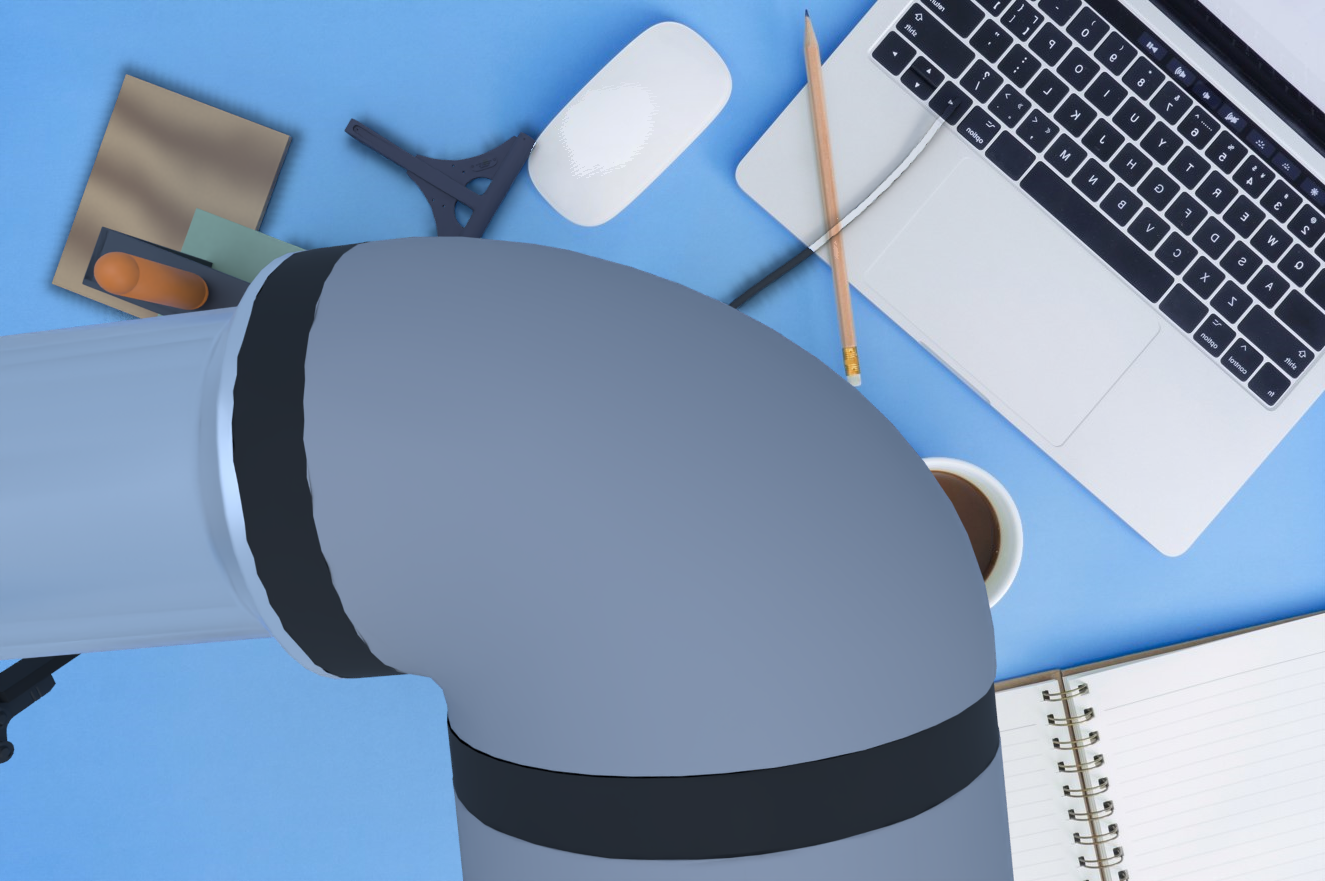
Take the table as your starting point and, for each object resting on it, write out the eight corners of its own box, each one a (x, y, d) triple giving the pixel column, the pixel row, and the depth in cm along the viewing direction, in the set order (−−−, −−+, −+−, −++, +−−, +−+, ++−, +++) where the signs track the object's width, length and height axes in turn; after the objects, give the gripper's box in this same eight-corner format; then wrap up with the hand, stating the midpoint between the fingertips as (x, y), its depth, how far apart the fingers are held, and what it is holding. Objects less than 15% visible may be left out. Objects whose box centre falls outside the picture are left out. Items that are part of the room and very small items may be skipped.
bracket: (395, 60, 78) (384, 47, 75) (538, 144, 77) (531, 134, 75) (315, 201, 79) (300, 193, 76) (456, 286, 78) (446, 281, 75)
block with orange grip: (205, 260, 64) (-10, 189, 45) (383, 328, 63) (242, 286, 44) (188, 307, 64) (-34, 258, 45) (365, 376, 63) (217, 356, 44)
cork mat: (130, 76, 79) (125, 73, 79) (292, 137, 79) (289, 135, 78) (56, 284, 80) (51, 283, 79) (216, 347, 79) (212, 346, 79)
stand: (293, 248, 79) (196, 207, 64) (478, 319, 78) (424, 295, 63) (254, 353, 79) (149, 336, 64) (439, 424, 78) (376, 425, 63)
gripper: (-690, 509, 32) (-96, 353, 51) (-318, 1001, 40) (78, 707, 59) (-588, 494, 30) (-5, 336, 49) (-214, 1019, 38) (163, 707, 57)
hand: (41, 539), depth 54 cm, fingers open, 13 cm apart
